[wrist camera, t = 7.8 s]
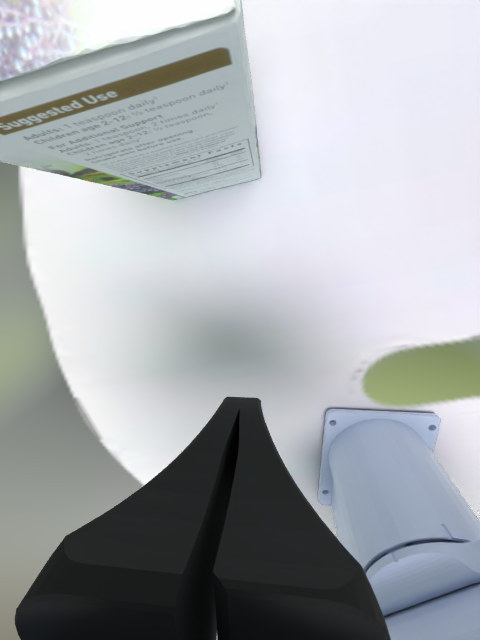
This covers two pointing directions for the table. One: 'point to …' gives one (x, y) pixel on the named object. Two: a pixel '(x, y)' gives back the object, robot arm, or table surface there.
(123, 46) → the syrup box
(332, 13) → the table surface
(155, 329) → the table surface
